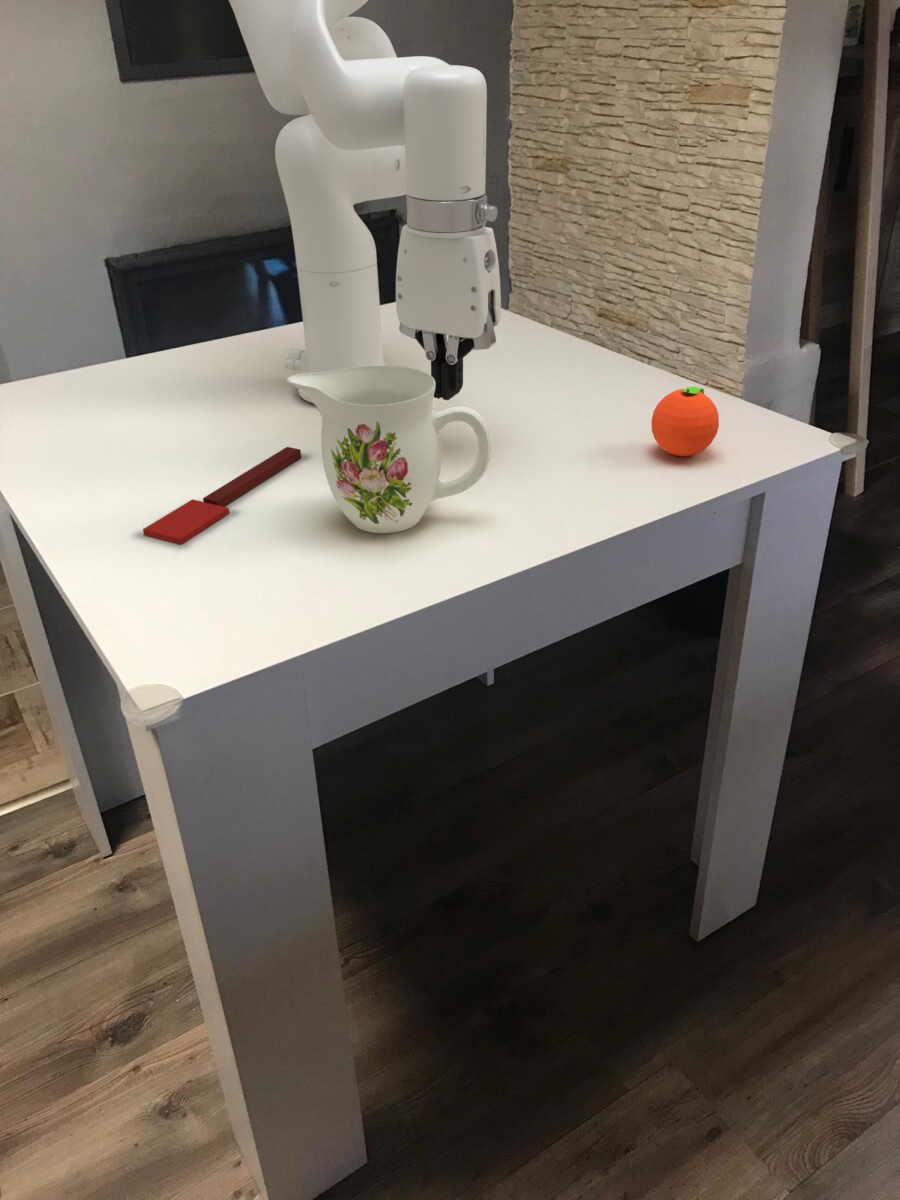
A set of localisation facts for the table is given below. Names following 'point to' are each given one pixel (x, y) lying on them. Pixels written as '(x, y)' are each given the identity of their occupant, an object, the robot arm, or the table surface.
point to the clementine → (685, 422)
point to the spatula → (217, 501)
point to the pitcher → (386, 443)
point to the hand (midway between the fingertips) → (447, 394)
